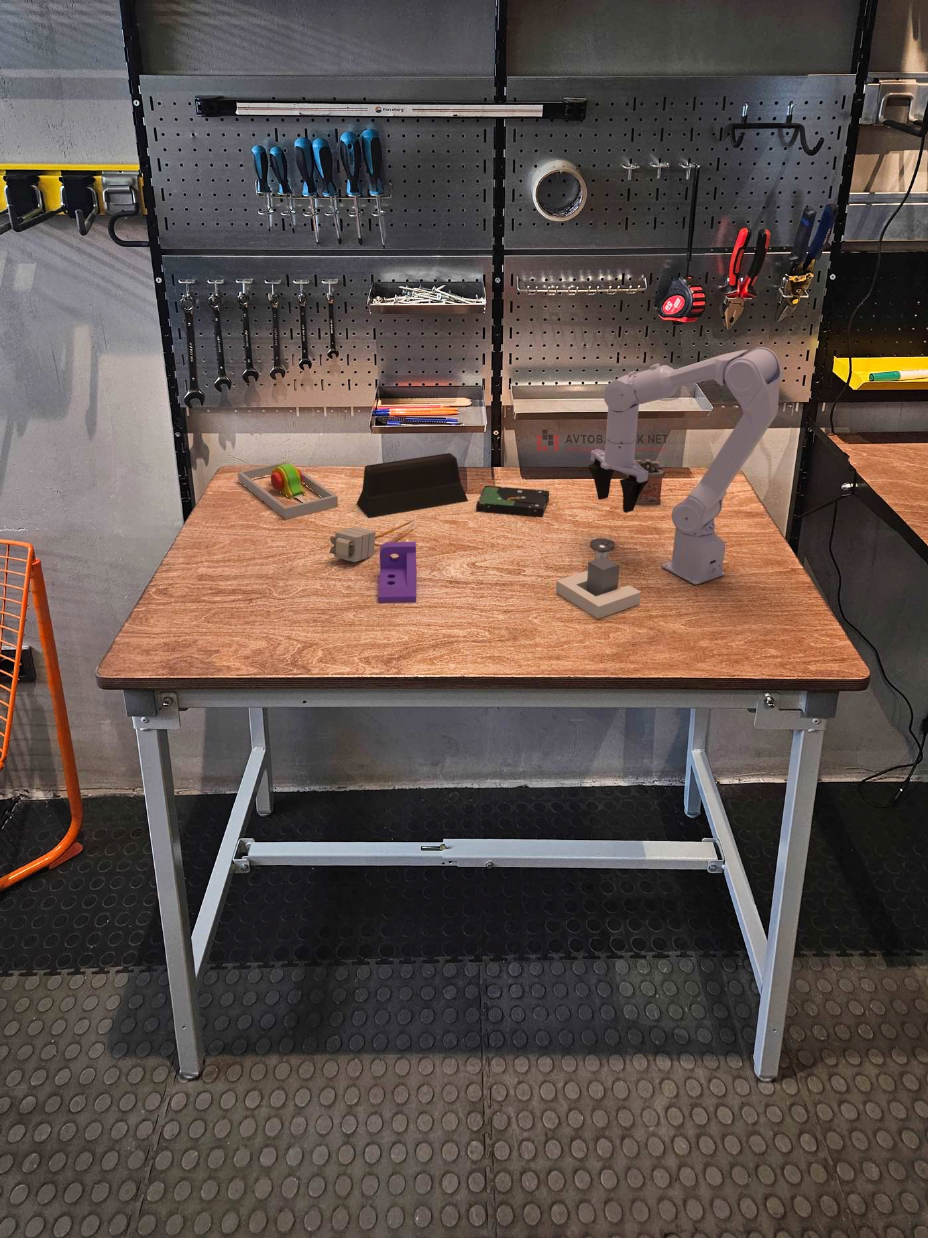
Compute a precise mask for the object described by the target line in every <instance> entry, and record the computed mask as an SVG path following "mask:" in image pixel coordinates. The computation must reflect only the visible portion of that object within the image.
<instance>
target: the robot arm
mask: <svg viewBox="0 0 928 1238" xmlns="http://www.w3.org/2000/svg"><path fill="white" fill-rule="evenodd" d="M747 352H748V349H743V350H737V351H733V352H728V353H724V354H719V355H718V356H714V357H710V358H707V359H705V360H701V361H699V362H696V363H695V362H694V363H693V364H689V365H686V366H682V367H680V368H676V369H674V368H673V367H671V366H669V365H666V364H664V365H660V363H655V364H652V365H650V367H649V369H646V370H643V371H639V372H636V370H634V371H630V372H628V374H625V375H623V376H620V377H618V378H616V379H615V380H612V381H611V382H609V383H608V384H607V385H606V386H605V388H604V391H603V398H604V399H603V400H604V403H605V404H606V406H607V407H608V409H607V418H606V419H607V421H606V434H605V445H604V450H603V449H598V448H596V449H594V450H591V451H590V461H592V462H593V463H592V464H589V465H588V470H589V472H590V474H591V476H592V478H593V481H594V484H595V489H596V494H597V495H596V496H597V499H598V500H599V501H601V500H605V499H608V497H609V496H610V495H609V494H610V491H611V490H610V489H611V483H612V478H613V473H614V471H618V472H620V473H621V474H624V475H626V476H627V475H628V476H629V477H628V478H627V477H625V478H622V479H619V483H620V486H621V491H622V510H623V511H622V512H623V513H630V512H633V511H634V509H635V507H636V505H635V504H636V501H637V499H638V497H639V495H640V493H641V491H642V489H643V488H644V487H645V485H646V484H647V483H648V471H647V470H645V469H643V468H642V467H641V466H640V465H639V464H638V463H637V462H636V461H635V460H636V459H635V455H636V453H635V452H636V441H637V432H638V431H637V429H638V420H639V418H638V417H639V409H640V407H639V406H640V405H643V404H646V403H647V404H648V403H650V402H655V401H658V400H663V399H666V398H670V397H672V396H675V393H676V392H677V390H678V388H680V387H686V386H689V385H693V384H697V383H698V384H699V383H702V382H706V381H707V382H708V381H715V382H716V383H718V384H719V386H722V387H723V386H725V385H726V386H727V388H728V389H729V391H730V393H731V394H732V395H733V397H734V398H735V400H736V401H737V402H738V404H739V405H740V407H741V410H742V416H741V417H740V419H739V421H738V422H737V424H735V427H734V428H733V430H732V431H731V433H730V434H729V436H728V437H727V439H726V441H725V442H724V444H723V445H722V446H721V448H720V449H719V452H718V453H717V455H716V456H715V458H714V459H713V461H712V462H711V464H710V465H709V467H708V469H707V470H706V472H705V473H704V474H703V476H702V477H701V479H700V481H699V482H698V483H697V484H696V485H695V487H694V488H693V489H692V490H691V491H690V492H689V493H688V495H687V497H686V498H684V500H683V501H681V502H679V503H677V504H676V505H675V506H674V507H673V509H672V513H671V521H672V523H673V525H674V528H675V530H674V540H673V549H672V557H671V561H667V562H664V563H661V568H663V569H665V570H667V571H668V572H671V573H672V574H674V575H676V576H678V577H680V578H682V579H684V580H685V581H687V582H689V583H691V584H693V585H695V586H696V585H699V584H702V583H705V582H708V581H711V580H714V579H716V578H719V577H722V576H724V575H725V571H723V568H724V567H723V565H724V560H725V552H726V543H725V540H723V539H722V538H721V537H719V535H718V534H717V533H716V530H715V529H716V528H715V527H716V525H715V518H717V517H718V516H719V515H720V514H721V512H722V508H723V502H724V499H725V497H726V495H727V494H728V493H727V489H728V488H729V487H730V485H731V484H732V482H733V481H734V479H735V478H736V476H737V475H738V473H739V472H740V470H741V469H742V468H743V466H744V465H745V464H746V461H747V460H748V459H749V457H750V455H751V454H752V453H753V451H754V450H755V448H756V446H758V444H759V442H760V441H761V439H762V438H763V436H764V435H765V433H766V431H767V430H768V428H769V427H770V426H771V424H773V423H772V422H773V421H774V419H776V416H777V414H778V411H779V399H780V398H779V397H780V383H781V379H782V377H783V373H784V372H783V368H782V367H781V363H780V361H779V358H778V356H777V354H776V353H775V352H774V351H773V350H771V348H768V347H764V346H758V347H755V348H753V349H751V350H750V351H749V352H748V353H747Z"/></svg>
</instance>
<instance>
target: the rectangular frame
mask: <svg viewBox="0 0 928 1238" xmlns="http://www.w3.org/2000/svg"><path fill="white" fill-rule="evenodd" d="M286 463H290V464H292V463H291V462H289V461H287V460H286V461H283V462H277V463H273V464H269V465H263V466H259V467H255V468H250V469H249V468H248V469H246V470H245V469H244V470H242V471H237V480H238V482H239V481H240V482H241V483H242V484H243V485H245V486H246V487H247V488H248V489H250V491H249V492H251V491H252V492H253V493H254V494H255V496H256V495H257V496H258V497H259V498H261V499H260V501H262V500H263V501H264V502H265V503H264V502H263V501H262V502H263V503H264V504H265V505H267V506H268V507H269V506H270V509H272V510H274V512H276V513H277V514H278V515H279V516H281V518H283V519H284V520H289V519H293V518H298V517H303V516H306V515H309V514H314V513H317V512H318V513H319V512H323V511H326V510H330V509H333V508H338V507H339V500H338V498H339V497H338V495H337V494H335V492H334V493H333V491H332V490H330V489H328V488H327V487H325V486H324V485H322V484H321V483H319V482H318V481H316V480H315V479H314V478H312V477H311V476H309V475H308V474H307V473H305V472H303V470H300V469H299V470H300V471H301V473H302V477H303V481H302V482H303V483H305V485H307V486H308V487H309V488H311V489H312V490H313V491H314V492H315V493H317V494H318V495H320V496H321V497H322V498H321V497H320V496H319V497H320V498H317V499H314V500H313V499H312V501H308V502H304V503H302V502H300V503H296V504H293V505H288V506H287V505H286V504H284V503H283V502H281V501H280V500H278V498H276V497H275V496H274V495H272V494H271V493H269V491H267V490H266V489H264V488H263V487H262V486H261V485H259V484H258V483H257V482H256V481H255V480H251V479H252V478H255V477H263V476H265V475H271V473H272V469H275V468H276V467H277V466H278V465H282V464H286ZM241 483H240V484H241ZM242 484H241V485H242ZM243 485H242V486H243ZM246 487H245V488H246ZM247 488H246V489H247ZM248 489H247V490H248ZM313 491H312V492H313ZM252 492H251V493H252ZM314 492H313V493H314ZM253 493H252V494H253ZM315 493H314V494H315ZM254 494H253V495H254ZM317 494H316V495H317ZM318 495H317V496H318ZM257 496H256V497H257ZM258 497H257V498H258ZM259 498H258V499H259Z"/></svg>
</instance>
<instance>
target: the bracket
mask: <svg viewBox="0 0 928 1238" xmlns="http://www.w3.org/2000/svg"><path fill="white" fill-rule="evenodd" d="M382 544H383V545H382V546H380V548H379V580H378V604H381V603H383V604H385V603H386V604H387V603H388V604H389V603H390V604H391V603H393V604H394V603H417V582H418V581H417V578H418V577H417V573H418V571H417V542H416V541H396V542H392V541H389V542H384V543H382ZM392 555H397V557H393V556H392Z"/></svg>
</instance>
